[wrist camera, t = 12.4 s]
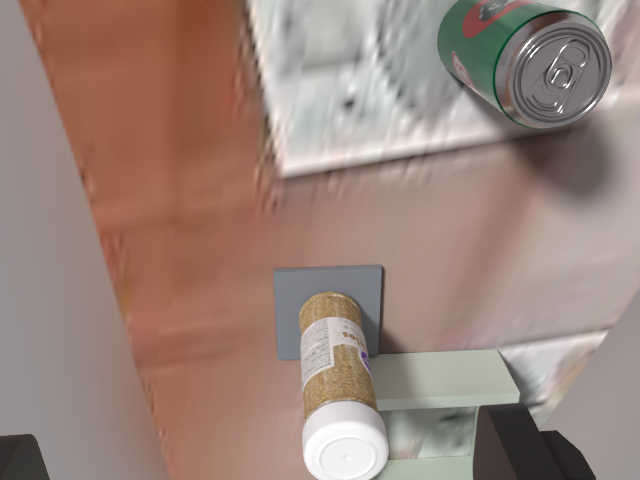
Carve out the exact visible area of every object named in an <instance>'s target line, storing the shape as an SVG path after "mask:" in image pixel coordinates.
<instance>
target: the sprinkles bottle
mask: <svg viewBox="0 0 640 480" xmlns="http://www.w3.org/2000/svg"><path fill="white" fill-rule="evenodd" d="M299 326H300V329H301V344H300V348H301V374H302V394H303V401H304V415H305V424H304V428H303V435H302V440H303V455H304V461H305V464H306V466H307V468H308V470H309V471H310V473H311V474H312V475H313V476H315V477H316V478H317V479H319V480H370V479H371V478H373V477H374V476H376V475H377V474H378V473H379V472H380V471H381V470H382V469H383V468H384V466H385V464H386V462H387V460H388V456H389V444H388V438H387V433H386V428H385V424H384V422H383V420H382V418H381V416H380V415H379V414H378V408H377V404H376V398H375V393H374V388H373V379H372V374H371V369H370V364H369V359H368V353H367V347H366V342H365V338H364V334H363V331H362V326H361V312H360V309H359V307H358V305H357V303H356V302H355V301H354V300H353V299H352V298H350V297H349V296H347V295H345V294H342V293H340V292H323V293H319V294H317V295H314V296H312V297H311V298H310V299H309V300H307V301H306V302H305V303H304V305H303V306H302V308H301V310H300V312H299Z"/></svg>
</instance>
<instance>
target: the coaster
mask: <svg viewBox="0 0 640 480" xmlns="http://www.w3.org/2000/svg"><path fill="white" fill-rule="evenodd" d="M381 272H382V268H381V265H365V266H337V267H310V268H283V269H274V272H273V273H274V292H275V312H276V332H277V352H278V360H295V359H301V348H300V344H301V329H300V326H299V312H300V310H301V308H302V306H303V305H304V303H305V302H306V301H307V300H309V299H310V298H311V297H312V296H314V295H317V294H319V293H323V292H340V293H342V294H345V295H347V296H349V297H350V298H352V299H353V300H354V301H355V302H356V303H357V305H358V307H359V309H360V312H361V326H362V331H363V334H364V338H365V342H366V347H367V353H368V356H378V346H379V321H380V297H381Z"/></svg>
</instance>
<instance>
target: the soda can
mask: <svg viewBox="0 0 640 480" xmlns="http://www.w3.org/2000/svg"><path fill="white" fill-rule="evenodd" d="M438 51H439V55H440V58H441V60H442V62H443V64H444V66H445V67H446V68H447V70H448V71H449V72H451V73H452V74H453V75H454V76H455V77H457V78H458V79H459V80H460V81H462V82H463V83H464V84H466V85H467V86H468V87H469V88H471V89H472V90H473V91H475V92H476V93H477V94H478V95H480V96H481V97H482V98H484V99H485V100H486V101H487V102H489V103H490V104H491V105H493V106H494V107H495V108H496V109H498V110H499V111H500V112H502V113H503V114H504V115H505V116H507V117H508V118H509V119H511V120H512V121H514V122H515V123H517V124H519V125H522V126H524V127H528V128H533V129H547V128H553V127H559V126H564V125H567V124H570V123H572V122H575V121H577V120H578V119H580V118H582V117H583V116H585V115H586V114H587V113H589V112H590V111H591V110H592V109H593V108H594V107H595V106H596V105H597V103H598V102H599V101H600V99H601V98H602V96H603V94H604V93H605V91H606V88H607V86H608V84H609V80H610V76H611V69H612V61H611V55H610V51H609V48H608V46H607V43H606V41H605V38H604V36H603V34H602V32H601V31H600V29H599V27H598V26H597V25H596V24H595V23H594V22H593V21H592V20H590V19H589V18H588V17H586V16H584V15H582V14H580V13H578V12H574V11H570V10H566V9H562V8H557V7H553V6H549V5H545V4H541V3H537V2H533V1H528V0H459V1H458V2H457V3H455V4H454V5H453V6H452V7H451V8H450V10H449V11H448V12H447V14H446V15H445V17H444V18H443V21H442V23H441V25H440V29H439V32H438Z"/></svg>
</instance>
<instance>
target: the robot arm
mask: <svg viewBox="0 0 640 480" xmlns="http://www.w3.org/2000/svg"><path fill="white" fill-rule="evenodd" d="M472 471H473V480H596V477H595V475H594V474H593V472H592V470H591V468H590V467H589V465H588V463H587V462H586V460H585V458H584V457H583V455H582V453H581V452H580V451H579V450H578V449H577V448H576V447H575V446H574V445H573V444H571V443H570V442H569V441H568V440H567V439H565V437H563V436H562V435H561V434H560V433H559V432H558V431H556V430H555V431H541V432H539V430H538V428H537V426H536V424H535V422H534V420H533V418H532V417H531V415H530V413H529V411H528V409H527V407H526V406H525V405H524V404H523V403H509V404H494V405H481V406H480V408H479V411H478V417H477V427H476V437H475V446H474V456H473V467H472ZM0 480H50V479H49V476H48V473H47V470H46V467H45V464H44V461H43V458H42V455H41V452H40V449H39V446H38V443H37V440H36V438H35V437H34V436H33V435H31V434H23V435H8V436H0Z"/></svg>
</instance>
